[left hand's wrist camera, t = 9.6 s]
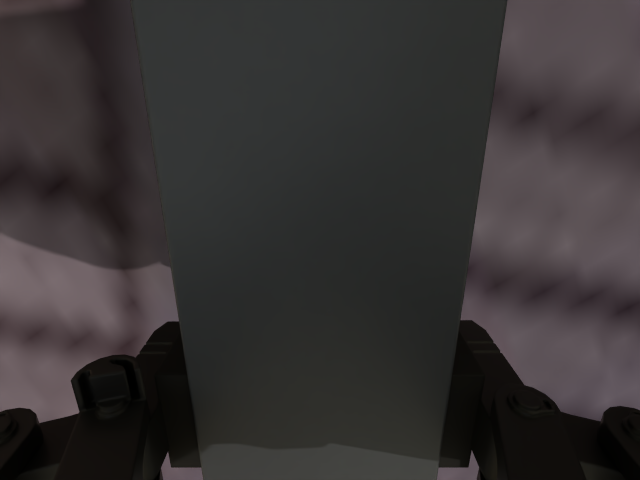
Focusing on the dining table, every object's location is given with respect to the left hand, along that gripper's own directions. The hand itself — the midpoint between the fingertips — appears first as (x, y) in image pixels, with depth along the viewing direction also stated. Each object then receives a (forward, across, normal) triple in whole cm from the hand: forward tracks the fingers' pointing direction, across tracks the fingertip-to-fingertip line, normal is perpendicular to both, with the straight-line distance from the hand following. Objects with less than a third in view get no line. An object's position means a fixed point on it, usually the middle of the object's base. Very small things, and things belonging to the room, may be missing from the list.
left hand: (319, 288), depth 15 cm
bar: (+1, 0, -19) cm, 19 cm away
